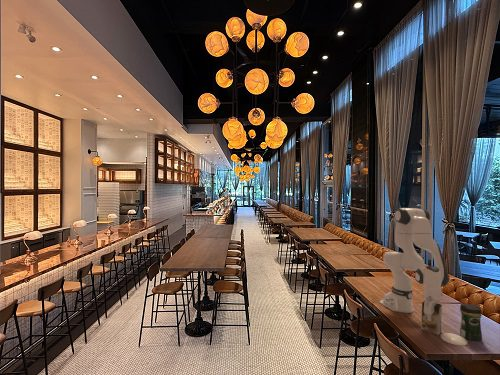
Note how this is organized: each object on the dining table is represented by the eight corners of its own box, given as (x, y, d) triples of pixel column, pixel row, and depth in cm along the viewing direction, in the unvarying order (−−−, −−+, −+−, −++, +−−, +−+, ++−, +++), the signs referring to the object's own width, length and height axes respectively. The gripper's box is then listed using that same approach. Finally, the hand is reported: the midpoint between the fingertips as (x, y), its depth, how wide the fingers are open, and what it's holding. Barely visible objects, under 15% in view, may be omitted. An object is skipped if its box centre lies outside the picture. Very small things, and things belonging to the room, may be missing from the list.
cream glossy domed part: (435, 337, 162) (435, 335, 162) (449, 332, 167) (449, 331, 167) (458, 348, 152) (458, 346, 152) (472, 343, 156) (472, 341, 156)
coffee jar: (476, 334, 166) (476, 302, 166) (484, 342, 158) (484, 308, 158) (457, 333, 168) (457, 301, 167) (464, 340, 160) (464, 306, 160)
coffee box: (420, 329, 171) (421, 302, 171) (424, 326, 175) (424, 299, 175) (438, 335, 164) (439, 307, 164) (441, 331, 169) (442, 304, 169)
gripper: (433, 300, 160) (433, 325, 160) (443, 292, 174) (442, 315, 174) (420, 297, 165) (420, 321, 165) (431, 289, 179) (430, 311, 179)
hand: (431, 318), depth 170 cm, fingers open, 8 cm apart
